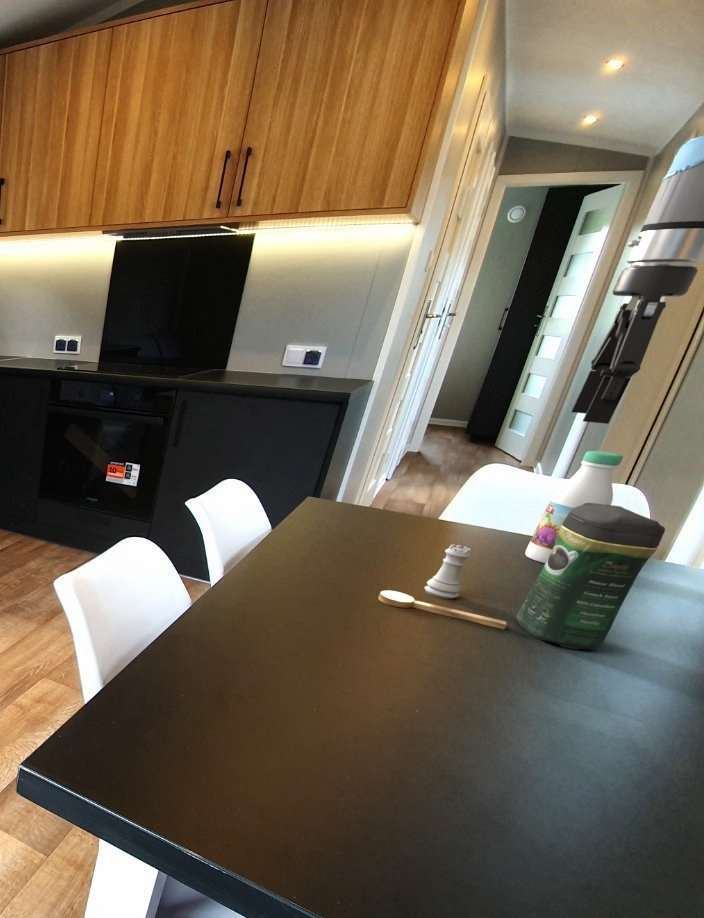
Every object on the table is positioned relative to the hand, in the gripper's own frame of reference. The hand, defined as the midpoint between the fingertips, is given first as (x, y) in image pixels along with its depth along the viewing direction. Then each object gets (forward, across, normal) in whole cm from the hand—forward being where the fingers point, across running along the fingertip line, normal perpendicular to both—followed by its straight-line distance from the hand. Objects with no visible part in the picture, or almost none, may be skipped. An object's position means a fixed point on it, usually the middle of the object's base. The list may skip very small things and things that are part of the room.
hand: (588, 417), depth 100 cm
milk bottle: (+27, -14, +6) cm, 31 cm away
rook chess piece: (+27, +21, -10) cm, 36 cm away
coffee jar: (+27, +28, +3) cm, 39 cm away
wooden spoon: (+27, +30, -11) cm, 42 cm away
